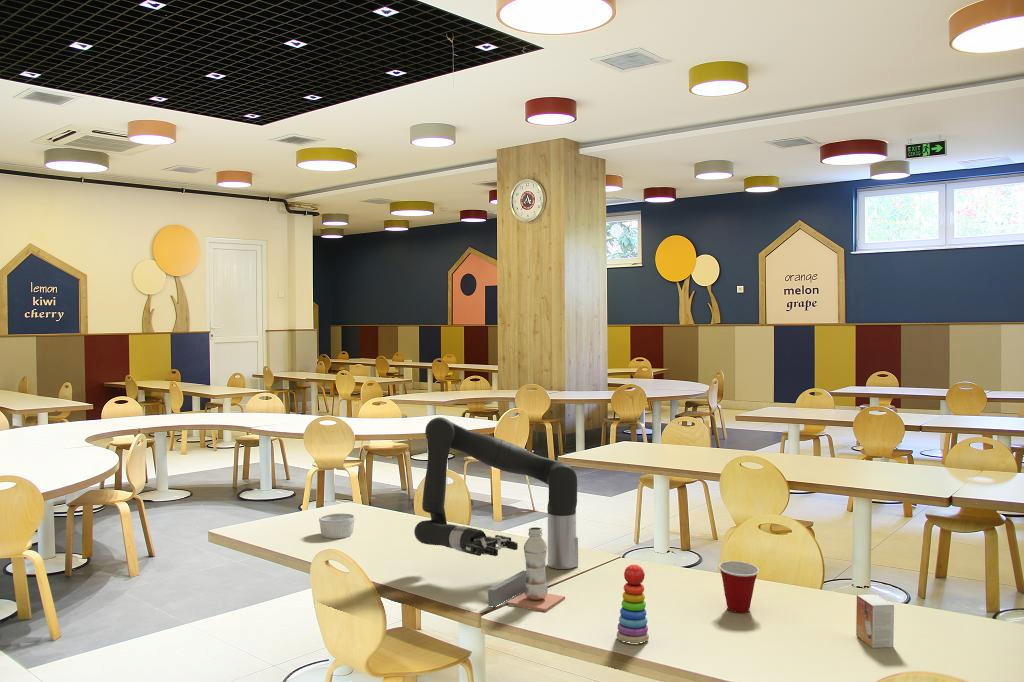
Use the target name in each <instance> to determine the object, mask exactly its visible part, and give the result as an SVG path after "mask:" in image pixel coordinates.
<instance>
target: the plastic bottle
mask: <svg viewBox="0 0 1024 682" xmlns="http://www.w3.org/2000/svg"><path fill="white" fill-rule="evenodd" d="M528 536H529V537H528V538H527V540H525V543H524V545H523V552H524V558H525V559H524V560H525V571H526V582H525V587H524V591H523V593H524V592H525V596H526V597H527V598H528V599H531V600H542V599H544V598H546V596H547V593H548V592H549V589H548V583H547V576H546V560H547V559H546V557H547V553H548V545H547V544H546V542H545V540H544V538H543V537H542V536H543V529H542V527H537V526H536V527H535V526H533V527H529V528H528Z"/></svg>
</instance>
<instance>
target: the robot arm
mask: <svg viewBox="0 0 1024 682" xmlns="http://www.w3.org/2000/svg"><path fill="white" fill-rule="evenodd" d="M424 433H425V434H424V435H425V438H426V443H427V466H426V472H425V476H424V477H425V478H424V484H423V491H422V492H423V494H422V503H421V504H422V505H421V507H422V511H424V512H425V513H428V514H430V519H429V520H428V519H427V520H422V521H418V523H417V524H416V525H415V527H414V531H413V532H414V536H415V539H416V540H417V541H418V542H419V543H421V544H424V545H429V546H442V547H445V548H449V549H454V550H456V551H458V552H462V553H464V554H465V553H466V554H469V555H474V556H478V557H480V556H482V555H483V556H487V555H488V556H493V557H497V556H498V555H499V550H501V549H508V550H509V549H510V550H513V551H517V550H518V548H519V547H518V546H519V545H518V542H517V541H514V540H512V537H510V536H509V537H508V536H504V535H499V534H494V536H491V535H486V533H485V532H484V530H481V529H478V528H473V527H468V526H462V525H461V526H460V525H456V524H452V523H450V524H448V523H447V516H446V510H445V504H446V502H445V501H446V490H447V471H448V470H447V468H448V459H449V454H450V450H451V449H452V450H455V451H459V452H461V453H464V454H466V455H467V456H470V457H471V458H473V459H475V460H476V461H478V462H480V463H482V464H485V465H487V466H490V467H492V468H495V469H496V470H497V469H498V470H500V471H503V472H506V473H509V474H511V473H512V474H516V475H523V476H527V477H531V478H533V479H536V480H538V481H540V482H542V483H544V484H546V485H548V501H547V566H548V567H549V568H551V569H554V568H555V569H556V570H570V569H573V568H578V567H579V538H578V536H577V505H578V477H577V476H578V475H577V473H576V471H575V470H574V468H572V467H571V465H570V464H568V463H566V462H563V461H560V460H556V459H555V460H554V459H551V458H547V457H544V456H540V455H538V454H535V453H533V452H531V451H528V449H525V448H524V447H521V446H518V445H517V444H513V443H511V442H508V441H506V440H504V439H501V438H498V437H494V436H491V435H487V434H485V433H480V432H479V433H478V432H475V431H471V430H469V429H466V428H464V427H462V426H460V425H458V424H456V423H454V422H452V421H451V420H449V419H448V418H445V417H440V416H439V417H434V418H432V419H431V420H429V421H428V423H427V424H426V426H425V431H424ZM497 545H498V546H497Z"/></svg>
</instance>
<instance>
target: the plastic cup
mask: <svg viewBox="0 0 1024 682" xmlns="http://www.w3.org/2000/svg"><path fill="white" fill-rule="evenodd" d="M718 568H719V570H720V575H721V579H722V580H721V581H722V585H723V590H724V591H723V592H724V597H725V601H726V607H727V609H728V611H730V612H732V613H737V614H743V613H745V614H747V613H749V611H750V609H751V603H752V599H753V594H754V588H755V583H756V579H757V577H758V574H759V573H760V569H759V567H757V566H756V565H754V564H752V563H749V562H744V561H738V560H727V561H726V560H725V561H723V562H720V563H719V564H718Z"/></svg>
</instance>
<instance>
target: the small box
mask: <svg viewBox="0 0 1024 682" xmlns="http://www.w3.org/2000/svg"><path fill="white" fill-rule="evenodd" d="M855 615H856V616H855V618H856V620H855V621H856V622H855V624H856V625H855V636H856V637H857V638H859V639H861V640H862V641H863V642H864V643H865V644H866V645H868V646H869V647H870V648H871V649H880V648H881V649H882V648H884V649H885V648H894V636H895V635H894V633H895V632H894V629H895V626H894V625H895V624H894V623H895V620H894V619H895V605H894V604H893V603H891V602H889V601H888V600H887V599H885V598H883V597H882V596H880V595H879V594H857V595H856V613H855Z"/></svg>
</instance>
